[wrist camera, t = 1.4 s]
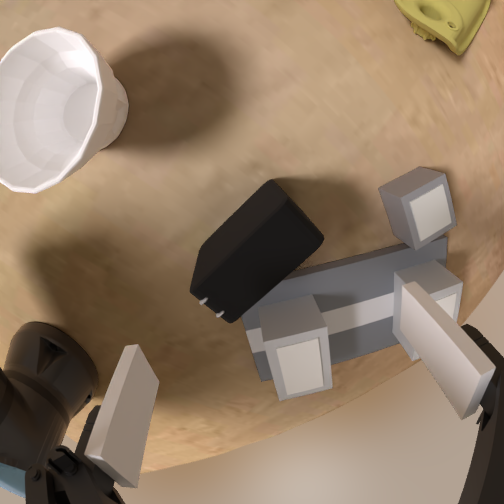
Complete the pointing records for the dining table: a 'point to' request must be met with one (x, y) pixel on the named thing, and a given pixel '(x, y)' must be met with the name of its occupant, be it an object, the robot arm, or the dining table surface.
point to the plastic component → (446, 20)
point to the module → (419, 206)
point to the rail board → (342, 313)
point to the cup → (55, 108)
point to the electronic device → (253, 252)
